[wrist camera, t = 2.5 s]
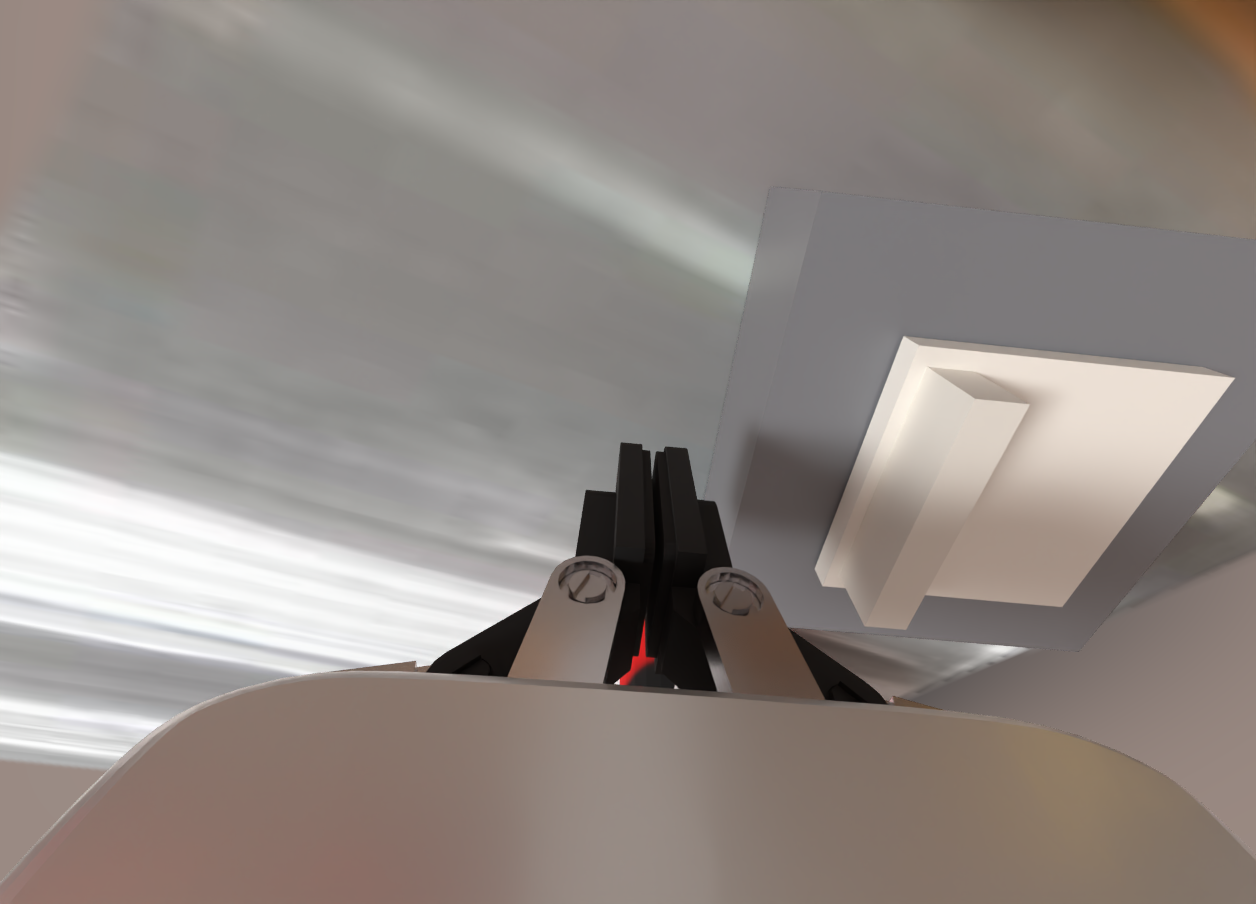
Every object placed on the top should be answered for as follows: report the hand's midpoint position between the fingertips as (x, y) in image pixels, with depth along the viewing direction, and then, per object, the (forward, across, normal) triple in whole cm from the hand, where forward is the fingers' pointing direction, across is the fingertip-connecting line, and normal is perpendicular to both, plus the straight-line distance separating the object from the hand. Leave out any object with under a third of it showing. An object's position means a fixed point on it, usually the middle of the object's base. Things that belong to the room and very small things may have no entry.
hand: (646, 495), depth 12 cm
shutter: (+2, -10, 0) cm, 10 cm away
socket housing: (+7, -10, 0) cm, 13 cm away
